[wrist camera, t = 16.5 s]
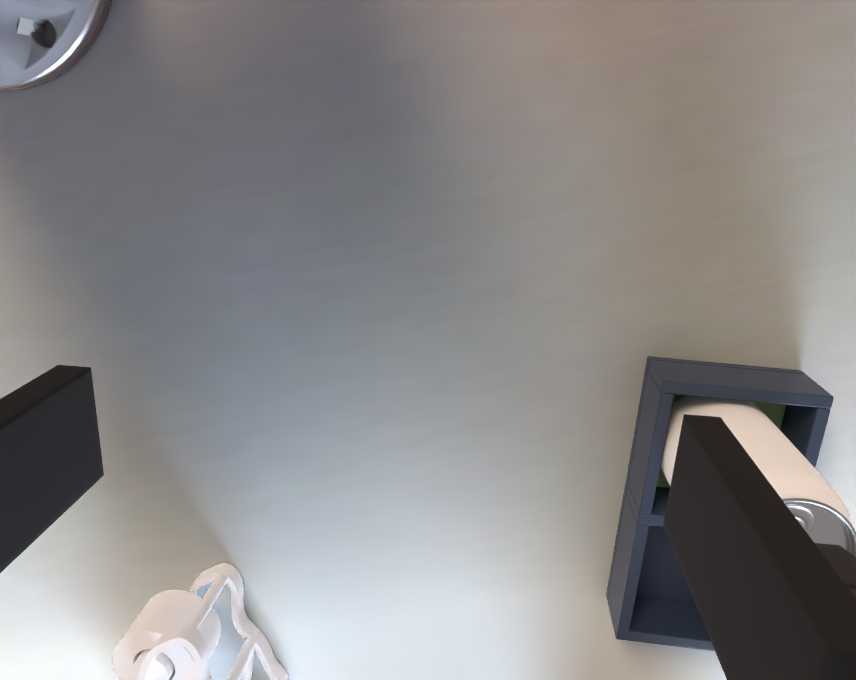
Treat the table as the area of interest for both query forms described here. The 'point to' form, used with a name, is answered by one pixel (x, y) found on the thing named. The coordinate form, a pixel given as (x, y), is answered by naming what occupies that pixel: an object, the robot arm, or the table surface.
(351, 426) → the table surface
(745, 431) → the can
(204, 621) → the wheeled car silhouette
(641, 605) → the tray
